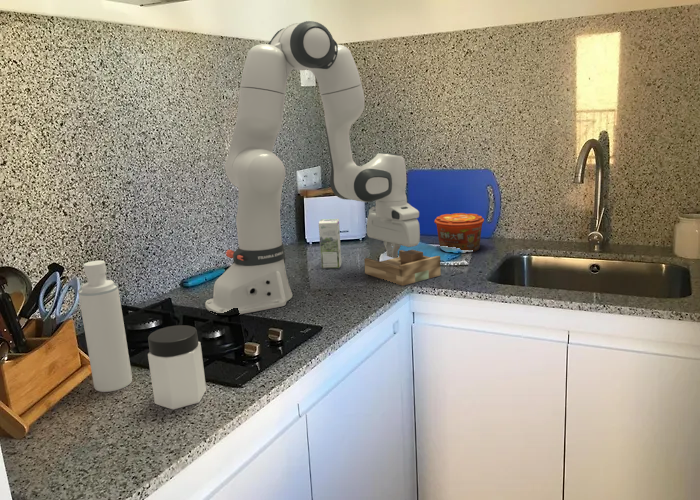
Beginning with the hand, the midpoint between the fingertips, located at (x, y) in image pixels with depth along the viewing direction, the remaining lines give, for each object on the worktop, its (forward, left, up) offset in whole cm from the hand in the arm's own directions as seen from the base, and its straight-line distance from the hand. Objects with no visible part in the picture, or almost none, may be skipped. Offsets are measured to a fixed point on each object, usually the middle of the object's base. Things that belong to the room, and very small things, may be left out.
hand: (392, 256), depth 174 cm
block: (+1, -7, -2) cm, 7 cm away
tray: (+1, -4, -5) cm, 6 cm away
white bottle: (-84, -21, -5) cm, 87 cm away
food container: (+33, +6, -5) cm, 34 cm away
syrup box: (-9, +19, -5) cm, 22 cm away
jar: (-76, -35, -5) cm, 84 cm away
